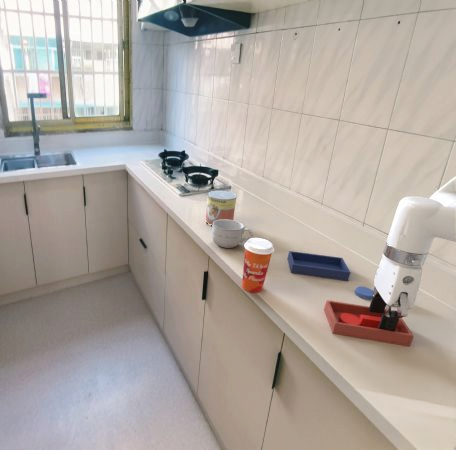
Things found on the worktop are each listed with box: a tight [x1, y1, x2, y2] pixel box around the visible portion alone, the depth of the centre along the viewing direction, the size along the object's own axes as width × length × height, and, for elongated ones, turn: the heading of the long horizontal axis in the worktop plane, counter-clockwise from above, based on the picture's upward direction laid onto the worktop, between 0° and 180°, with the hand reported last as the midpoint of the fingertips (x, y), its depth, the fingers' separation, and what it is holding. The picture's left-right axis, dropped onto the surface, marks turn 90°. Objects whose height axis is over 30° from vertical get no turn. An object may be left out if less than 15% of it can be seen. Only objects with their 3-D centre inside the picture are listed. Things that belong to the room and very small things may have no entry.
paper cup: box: [241, 237, 275, 294], centre depth 93 cm, size 8×8×14 cm
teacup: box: [211, 219, 254, 249], centre depth 118 cm, size 14×11×8 cm
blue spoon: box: [354, 285, 375, 301], centre depth 93 cm, size 12×5×2 cm, turn 77°
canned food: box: [205, 189, 238, 225], centre depth 136 cm, size 11×11×12 cm
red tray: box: [323, 299, 415, 347], centre depth 81 cm, size 16×9×3 cm, turn 77°
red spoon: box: [339, 313, 398, 331], centre depth 81 cm, size 12×5×2 cm, turn 77°
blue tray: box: [287, 250, 352, 282], centre depth 106 cm, size 16×9×3 cm, turn 77°
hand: (380, 320), depth 80 cm, fingers open, 5 cm apart
